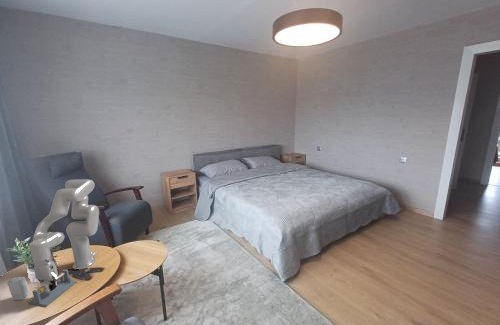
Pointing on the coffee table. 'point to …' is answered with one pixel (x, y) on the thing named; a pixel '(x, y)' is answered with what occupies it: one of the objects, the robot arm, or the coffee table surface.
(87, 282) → the coffee table surface
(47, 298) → the slide rail
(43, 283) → the sleeve
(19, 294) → the skincare box
